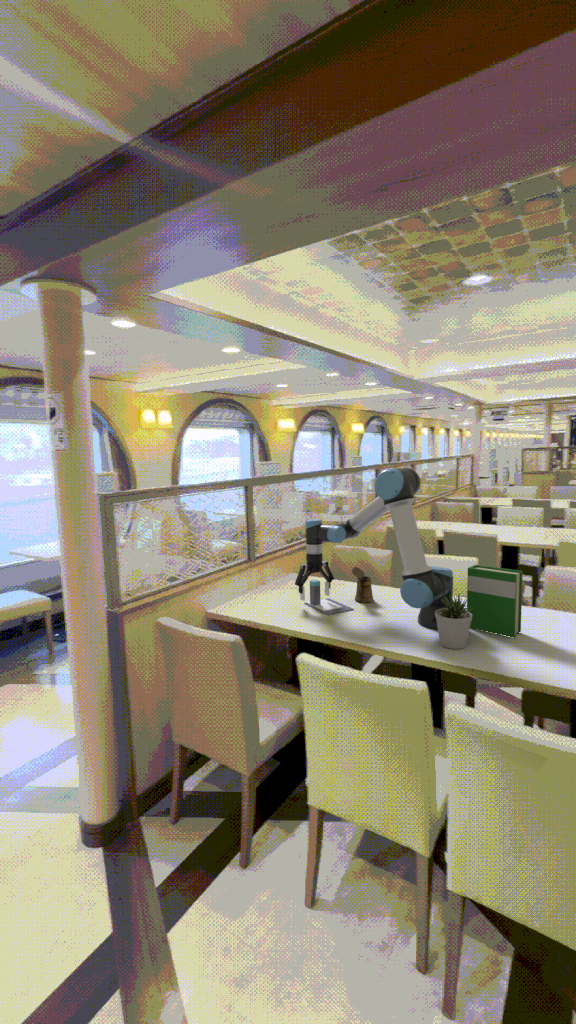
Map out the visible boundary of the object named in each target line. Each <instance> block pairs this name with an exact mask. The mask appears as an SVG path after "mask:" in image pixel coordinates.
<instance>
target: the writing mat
mask: <svg viewBox="0 0 576 1024" xmlns="http://www.w3.org/2000/svg"><path fill="white" fill-rule="evenodd" d="M320 603H321V604H320V605H312V604H310V601H306V602H304V603H303V604H304V605H306V606H308V607H310V608H312V609H314V608H315V609H314V610H316V611H318V610H319V611H318V612H319V613H322V614H324V613H325V615H326V614H327V615H326V616H331V615H330V614H332V615H335V613H337V614H339V613H340V612H341V613H344V611H346V612H349V610H351V611H355V610H354V608H352V607H350V606H347V605H345V604H343V603H342V602H341V603H340V602H338V601H336V600H334V599H332V598H329V597H328V598H322V599H321V598H320ZM341 613H340V614H341Z"/></svg>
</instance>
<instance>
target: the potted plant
mask: <svg viewBox="0 0 576 1024" xmlns="http://www.w3.org/2000/svg"><path fill="white" fill-rule="evenodd" d="M460 596H461V595H460V594H458V595H456V597H455V595H453V599H452V595H451V597H450V596H449V597H450V598H451V603H450V602H449V600H448V599H447V598H446V597H444V598H446V599H447V600H446V599H445V601H446V603H445V602H444V601H443V602H444V603H445V605H446V606H447V608H442V609H438V610H436V611H435V617H436V621H437V628H438V629H437V633H438V640H439V643H440V645H441V646H442V647H445V648H447V649H452V650H461V649H464V648H466V646H467V643H468V638H469V633H470V629H471V628H470V624H471V621H472V614H471V613H470V612H468V611H469V610H471V609H469V610H467V609H468V608H469V607H468V608H467V600H468V598H467V596H468V595H467V594H466V597H465V599H464V601H463V598H461V597H460ZM447 601H448V602H447ZM462 601H463V602H462ZM470 607H471V606H470ZM472 609H473V608H472Z"/></svg>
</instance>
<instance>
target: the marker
mask: <svg viewBox="0 0 576 1024" xmlns="http://www.w3.org/2000/svg"><path fill="white" fill-rule="evenodd" d="M320 600H321V581H320V580H318V579H312V580H309V602H310V604H312V605H320V604H321V603H320Z"/></svg>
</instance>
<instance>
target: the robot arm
mask: <svg viewBox="0 0 576 1024" xmlns="http://www.w3.org/2000/svg"><path fill="white" fill-rule="evenodd" d="M421 483H422V482H421V476H420V475H419V474H418V472H417V471H415V470H414V469H412V468H409V467H407V468H406V467H403V468H394V467H392V468H387V469H385V470H384V469H383V470H382V471H381V472H380V473H379V474H378V475H377V477H376V478H375V481H374V491H375V494H376V495H377V497H376V498H374V499H373V500H371V501H370V502H369V503H368V504H367V505H365V506H364V507H363V508H362V509H360V510H359V511H358V512H356V513H355V514H354V515H353V516H351V517H350V518H349V519H348V520H346V521H345V522H343V523H338V524H337V523H336V524H324V523H323V521H322V519H319V518H311V519H307V520H306V522H305V529H304V530H305V550H306V551H305V552H306V553H305V554H306V555H305V556H306V557H305V560H306V564H304V563H303V564H302V563H301V564H300V567H299V572H298V574H297V576H296V579H295V581H294V585H296V586H297V587H298V593H299V595H300V596H299V599H300V600H302V601H303V602H304V601H305V600H306V598H305V597H306V595H305V594H306V593H305V591H306V590H305V587H306V586H304V585H305V583H306V582H307V580H308V579H309V577H310V575H312V574H316V573H319V574H321V576H322V577H323V578H324V579H325V581H324V596H327V597H330V589H331V585H332V584H331V583H332V582H333V581H335V577H334V575H333V572H332V570H331V568H330V566H329V561H326V560H323V559H324V557H323V556H324V555H323V542H327V543H333V544H341V543H343V542H344V541H345V540H348V539H354V538H356V537H358V536H359V535H360V534H361V531H363V530H364V529H365V528H367V527H368V526H369V525H371V524H372V523H373V522H375V521H376V520H378V519H379V518H381V517H382V516H383V515H385V514H386V513H387V512H388V511H389V512H390V517H391V521H392V525H393V528H394V532H395V537H396V541H397V546H398V549H399V553H400V557H401V561H402V566H403V571H402V572H401V579H402V583H401V585H400V588H399V589H400V590H399V592H400V593H399V594H400V596H401V599H402V600H403V601H404V603H405V604H407V605H408V606H409V607H411V608H414V609H419V613H418V616H417V623H418V624H419V625H421V626H422V627H426V628H429V629H434V630H438V628H437V621H436V617H435V611H436V610H438V609H442V608H447V606H446V605H445V603H446V601H445V599H446V598H447V599H448V600H449V602H450V603H451V598H450V597H451V595H452V599H453V600H454V594H453V593H454V572H453V570H452V569H450V568H448V567H447V568H446V567H441V566H429V565H428V564H427V559H426V555H425V552H424V548H423V544H422V541H421V536H420V532H419V528H418V523H417V521H416V516H415V512H414V509H413V505H412V503H413V502H414V501H415V495H416V494H417V493H418V492H419V490H420V488H421V485H422V484H421ZM324 570H325V571H324ZM449 596H450V597H449ZM444 597H446V598H444ZM447 599H446V600H447ZM443 601H444V602H445V603H444V602H443ZM447 602H448V601H447Z"/></svg>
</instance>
